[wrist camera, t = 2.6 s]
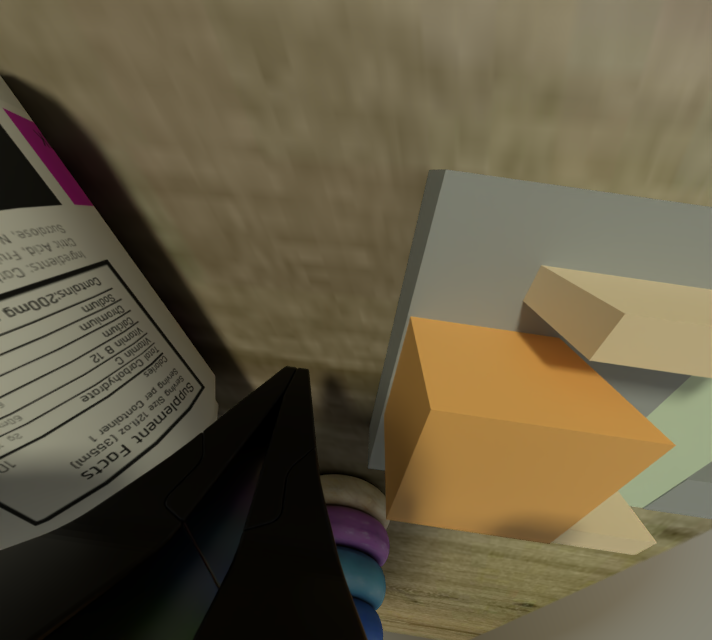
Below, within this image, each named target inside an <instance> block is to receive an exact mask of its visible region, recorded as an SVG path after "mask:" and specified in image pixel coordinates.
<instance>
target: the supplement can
mask: <svg viewBox="0 0 712 640" xmlns="http://www.w3.org/2000/svg"><path fill="white" fill-rule="evenodd" d="M218 405H219V404H218V403H217V401H216V400H215V375H214V373H213V372H212V371H211V369H210V368H209V366H208V365H207V364H206V362H205V361H204V359H203V358H202V357H201V355H200V354H199V352H198V351H197V350H196V348H195V347H194V345H193V344H192V343H191V341H190V340H189V338H188V337H187V336H186V334H185V333H184V331H183V330H182V329H181V327H180V326H179V324H178V323H177V322H176V320H175V319H174V317H173V316H172V315H171V313H170V312H169V310H168V309H167V308H166V306H165V305H164V303H163V302H162V301H161V299H160V298H159V296H158V295H157V294H156V292H155V291H154V289H153V288H152V287H151V285H150V284H149V283H148V281H147V280H146V278H145V277H144V276H143V274H142V273H141V271H140V270H139V269H138V267H137V266H136V264H135V263H134V262H133V260H132V259H131V257H130V256H129V255H128V253H127V252H126V250H125V249H124V248H123V246H122V245H121V243H120V242H119V241H118V239H117V238H116V236H115V235H114V234H113V232H112V231H111V229H110V228H109V227H108V225H107V224H106V222H105V221H104V220H103V218H102V217H101V215H100V214H99V213H98V211H97V210H96V208H95V207H94V206H93V204H92V203H91V202H90V200H89V199H88V197H87V196H86V195H85V193H84V192H83V190H82V189H81V188H80V186H79V185H78V183H77V182H76V181H75V179H74V178H73V176H72V175H71V174H70V172H69V171H68V169H67V168H66V167H65V165H64V164H63V162H62V161H61V160H60V158H59V157H58V155H57V154H56V153H55V151H54V150H53V148H52V147H51V146H50V144H49V143H48V141H47V140H46V139H45V137H44V136H43V134H42V133H41V132H40V130H39V129H38V127H37V126H36V125H35V123H34V122H33V120H32V119H31V118H30V116H29V115H28V114H27V112H26V111H25V109H24V108H23V107H22V105H21V104H20V102H19V101H18V100H17V98H16V97H15V95H14V94H13V93H12V91H11V90H10V88H9V87H8V86H7V84H6V83H5V81H4V80H3V79H2V77H1V76H0V550H2V549H5V548H7V547H10V546H13V545H16V544H18V543H21V542H24V541H27V540H30V539H32V538H35V537H38V536H41V535H43V534H46V533H48V532H50V531H53V530H55V529H57V528H59V527H61V526H63V525H65V524H67V523H69V522H71V521H73V520H74V519H76V518H78V517H80V516H81V515H83V514H84V513H86V512H88V511H89V510H91V509H92V508H94V507H95V506H97V505H98V504H100V503H101V502H103V501H104V500H106V499H107V498H109V497H110V496H112V495H113V494H115V493H116V492H118V491H119V490H121V489H122V488H124V487H125V486H127V485H128V484H130V483H131V482H133V481H134V480H136V479H137V478H139V477H140V476H142V475H143V474H145V473H146V472H148V471H149V470H151V469H152V468H153V467H155V466H156V465H158V464H159V463H161V462H162V461H164V460H165V459H166V458H168V457H169V456H171V455H172V454H173V453H175V452H176V451H177V450H179V449H180V448H181V447H183V446H184V445H185V444H187V443H188V442H189V441H191V440H192V439H193V438H195V437H196V436H197V435H198V434H200V433H203V431H204V430H205V429H206V428H207V427H209V426H210V425H211V424H213V423H214V422H215V421H216V420H217V416H218Z"/></svg>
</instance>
